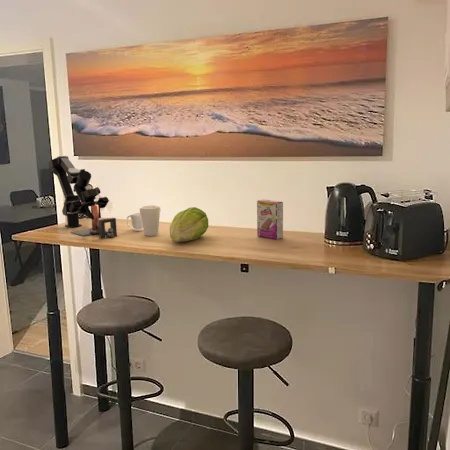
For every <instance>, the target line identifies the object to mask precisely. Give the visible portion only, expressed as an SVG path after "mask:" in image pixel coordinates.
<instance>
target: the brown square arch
mask: <svg viewBox="0 0 450 450" xmlns="http://www.w3.org/2000/svg"><path fill="white" fill-rule="evenodd" d="M98 221H99V233H98V234H99V239H106V237H107V236H106V235H105V230H106V225H105V224H106V223H109V224H110V227H109V228H113V234H114V236H113V237H117V236H118V234H117V233H118V232H117V230H118V229H117V219H116V217H109V218H108V217H107V218H100V219H99V220H98Z"/></svg>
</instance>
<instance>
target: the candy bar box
mask: <svg viewBox="0 0 450 450" xmlns="http://www.w3.org/2000/svg"><path fill="white" fill-rule="evenodd" d="M256 209H257V210H256V215H257V217H256V218H257V220H256V221H257V224H256V225H257V227H256V228H257V233H256V234H257V235H256V236H257V237H261V238H266V239H270V240H275V241H278V240H281V239H283V238H284V202H283V201H280V200H271V199H265V198H263V199H257V200H256Z"/></svg>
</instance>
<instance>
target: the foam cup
mask: <svg viewBox="0 0 450 450" xmlns="http://www.w3.org/2000/svg"><path fill="white" fill-rule="evenodd" d="M139 213H141V219H142V224H143V228H142V229H143V233H144V236H146V237H147V236H148V237H151V236H152V237H154V236H157V235H159V229H160V216H161V206H160V205H156V204H155V205H154V204H149V205H142V206H139Z"/></svg>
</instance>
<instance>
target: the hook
mask: <svg viewBox="0 0 450 450" xmlns="http://www.w3.org/2000/svg"><path fill="white" fill-rule="evenodd" d="M90 211H91V213H92V215H93V217H94V219H93V220H92V219H91V228H92V229H89V228H88V229H89V232H90V233H93V234H92V235H96V233H97V234H99V221H98V220H100V218H99V208H98V205H91V206H90ZM106 230H108V231H106ZM105 235H106V237H108V238H113V237H115V236H114V234H113V228H111V227H108V229H105Z"/></svg>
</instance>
